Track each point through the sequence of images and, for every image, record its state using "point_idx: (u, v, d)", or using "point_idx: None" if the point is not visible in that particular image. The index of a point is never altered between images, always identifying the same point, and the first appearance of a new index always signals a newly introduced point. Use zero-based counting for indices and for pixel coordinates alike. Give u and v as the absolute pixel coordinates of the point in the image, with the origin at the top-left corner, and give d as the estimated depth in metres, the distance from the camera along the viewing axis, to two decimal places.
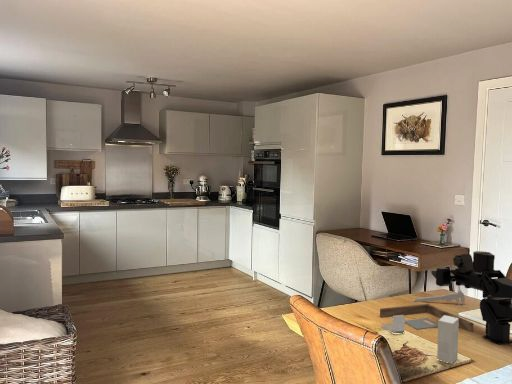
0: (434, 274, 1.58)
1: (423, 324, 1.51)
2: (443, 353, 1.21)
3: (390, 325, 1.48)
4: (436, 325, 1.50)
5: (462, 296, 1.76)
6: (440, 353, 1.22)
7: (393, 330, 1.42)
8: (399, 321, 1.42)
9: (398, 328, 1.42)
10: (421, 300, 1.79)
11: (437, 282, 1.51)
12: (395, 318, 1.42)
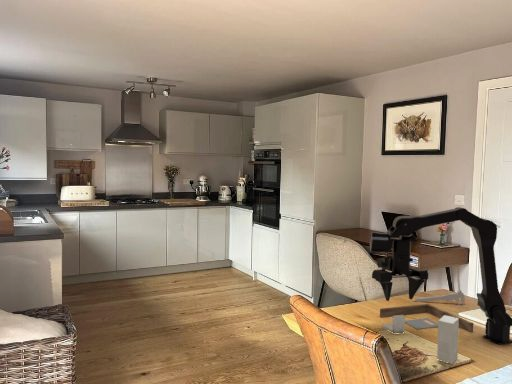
0: (386, 294, 1.41)
1: (423, 324, 1.51)
2: (443, 353, 1.21)
3: (390, 325, 1.48)
4: (436, 325, 1.50)
5: (462, 296, 1.76)
6: (440, 353, 1.22)
7: (393, 330, 1.42)
8: (399, 321, 1.42)
9: (398, 328, 1.42)
10: (421, 300, 1.79)
11: (379, 278, 1.38)
12: (395, 318, 1.42)
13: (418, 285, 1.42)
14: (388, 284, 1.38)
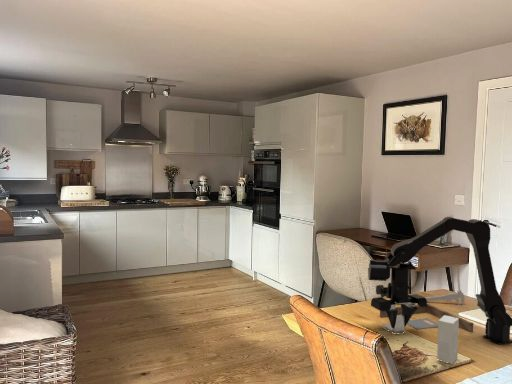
0: (391, 321, 1.42)
1: (423, 324, 1.51)
2: (443, 353, 1.21)
3: (390, 325, 1.48)
4: (436, 325, 1.50)
5: (462, 296, 1.76)
6: (440, 353, 1.22)
7: (393, 330, 1.42)
8: (399, 321, 1.42)
9: (398, 328, 1.42)
10: None
11: (378, 307, 1.38)
12: None
13: (411, 313, 1.41)
14: (393, 312, 1.39)
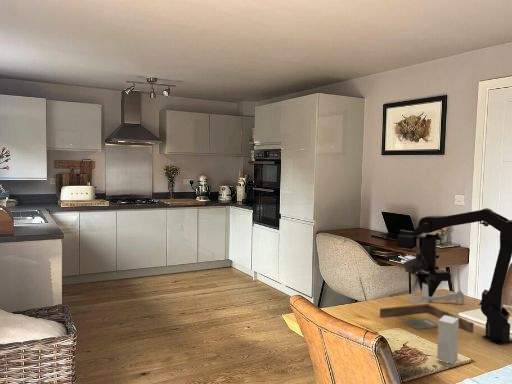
0: (433, 290, 1.48)
1: (423, 324, 1.51)
2: (443, 353, 1.21)
3: (413, 298, 1.51)
4: (436, 325, 1.50)
5: (462, 296, 1.76)
6: (440, 353, 1.22)
7: (430, 298, 1.49)
8: None
9: None
10: None
11: (449, 278, 1.42)
12: None
13: None
14: None
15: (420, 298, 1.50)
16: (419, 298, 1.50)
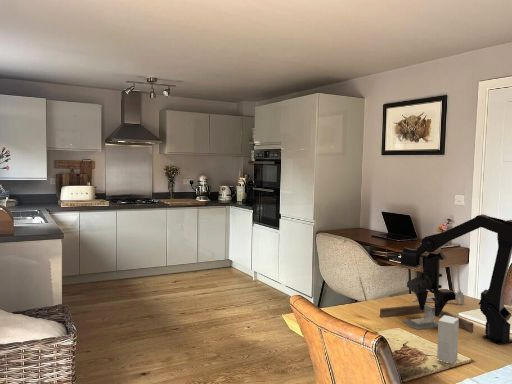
0: (439, 310, 1.49)
1: None
2: (443, 353, 1.21)
3: (417, 320, 1.52)
4: (436, 325, 1.50)
5: (462, 296, 1.76)
6: (440, 353, 1.22)
7: (433, 321, 1.51)
8: None
9: None
10: None
11: (454, 297, 1.44)
12: None
13: None
14: None
15: (423, 320, 1.52)
16: (422, 320, 1.52)
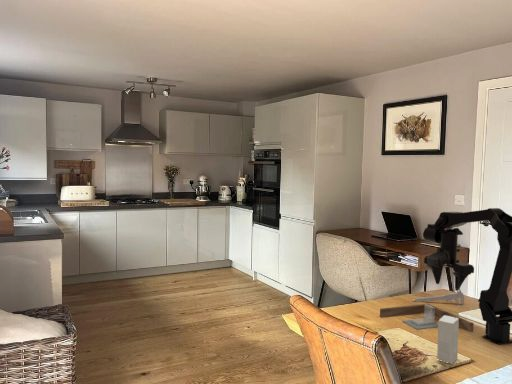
0: (459, 284, 1.53)
1: None
2: (443, 353, 1.21)
3: (417, 320, 1.52)
4: (436, 325, 1.50)
5: (462, 296, 1.76)
6: (440, 353, 1.22)
7: (433, 321, 1.51)
8: None
9: None
10: (420, 300, 1.79)
11: (472, 270, 1.50)
12: None
13: None
14: None
15: (423, 320, 1.52)
16: (422, 320, 1.52)
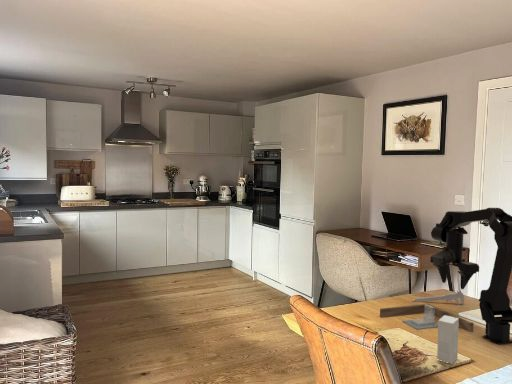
0: (465, 283, 1.54)
1: None
2: (443, 353, 1.21)
3: (417, 320, 1.52)
4: (436, 325, 1.50)
5: (461, 296, 1.76)
6: (440, 353, 1.22)
7: (433, 321, 1.51)
8: None
9: None
10: (420, 300, 1.79)
11: (477, 269, 1.51)
12: None
13: None
14: None
15: (423, 320, 1.52)
16: (422, 320, 1.52)
